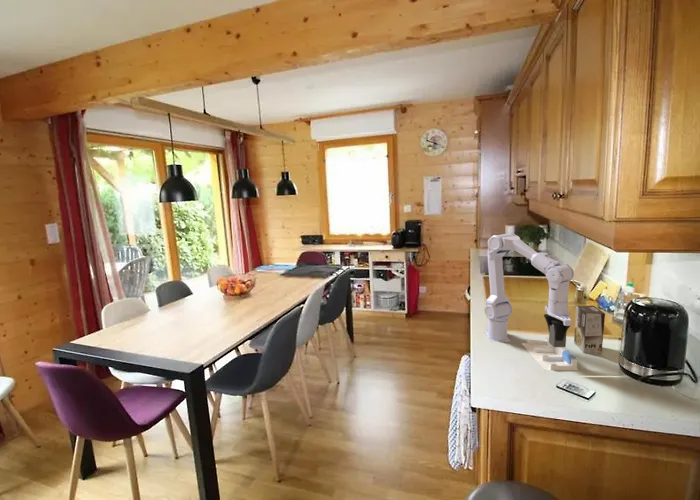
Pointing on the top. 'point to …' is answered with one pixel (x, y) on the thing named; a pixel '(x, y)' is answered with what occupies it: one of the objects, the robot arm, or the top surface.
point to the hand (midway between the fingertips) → (556, 337)
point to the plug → (553, 340)
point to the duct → (551, 355)
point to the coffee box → (589, 329)
